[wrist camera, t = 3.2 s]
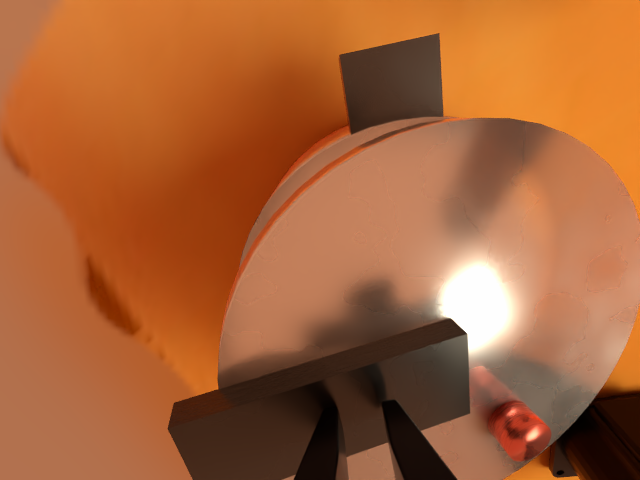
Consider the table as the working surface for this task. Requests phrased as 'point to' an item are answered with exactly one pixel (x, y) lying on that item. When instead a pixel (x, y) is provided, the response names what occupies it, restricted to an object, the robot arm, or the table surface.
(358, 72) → the pot
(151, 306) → the table surface
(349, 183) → the lid
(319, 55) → the table surface
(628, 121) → the table surface
